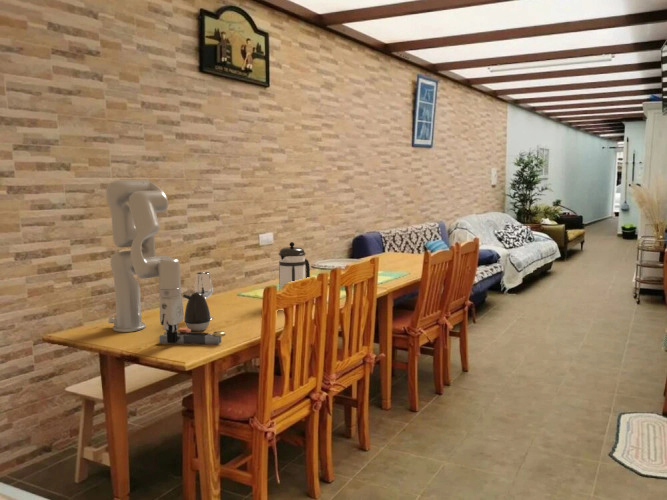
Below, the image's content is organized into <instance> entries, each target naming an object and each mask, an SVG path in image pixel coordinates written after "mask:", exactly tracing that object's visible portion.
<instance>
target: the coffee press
mask: <svg viewBox="0 0 667 500" xmlns="http://www.w3.org/2000/svg"><path fill="white" fill-rule="evenodd" d="M278 256H279V261H278V272H279V273H278V274H279V275H278V277H279V278H278V279H279V280H278V281H279V282H278V283H279V288H278V289H279V290H280V289H281V288H282V286H283V285H284V284H286V283H288V282H291V281H295V280H299V279H303V278H307V277H310V278H311V274H310V273H311V272H310V269H311V268H310V262H309V260H308V259H307V258H306V257H305V256H306V252H305V249H303V248H302V247H299V246H295V242H293V241H290V243H289V246H287V247H282V248H281V249H280V250H279V252H278Z"/></svg>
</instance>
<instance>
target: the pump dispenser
mask: <svg viewBox="0 0 667 500" xmlns="http://www.w3.org/2000/svg"><path fill="white" fill-rule="evenodd" d="M182 298H185V299H187V303H186V306H185V311H184V319H183V321H184V323H185V326H186V328H189V329H191V332H200V331H204V330H205V329H207V328H208V327H209V325H210V321H211V320H210V316H211V313H210V308H209V305H208V303H207V299H206V300H205V298H204V296H203V295H202V294H201V293H199V292H195V291H194V292H193V293H191V294H190V295H187V294H183V295H182Z"/></svg>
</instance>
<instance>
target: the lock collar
mask: <svg viewBox="0 0 667 500" xmlns="http://www.w3.org/2000/svg"><path fill="white" fill-rule="evenodd" d="M177 332H187V333H188V332H192V330H191V329H189V328H188V327H179V328H178V330H177Z"/></svg>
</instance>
